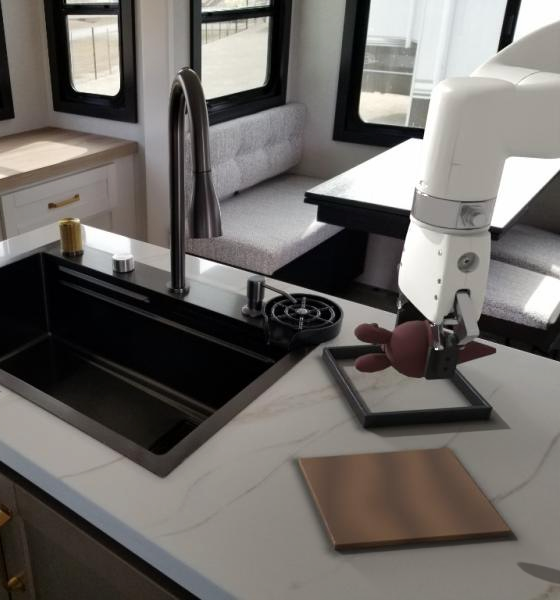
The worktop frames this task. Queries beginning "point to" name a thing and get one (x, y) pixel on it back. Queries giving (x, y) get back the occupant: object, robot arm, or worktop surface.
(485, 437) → the worktop surface
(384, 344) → the icecream
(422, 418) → the black square frame
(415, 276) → the robot arm
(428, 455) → the board
